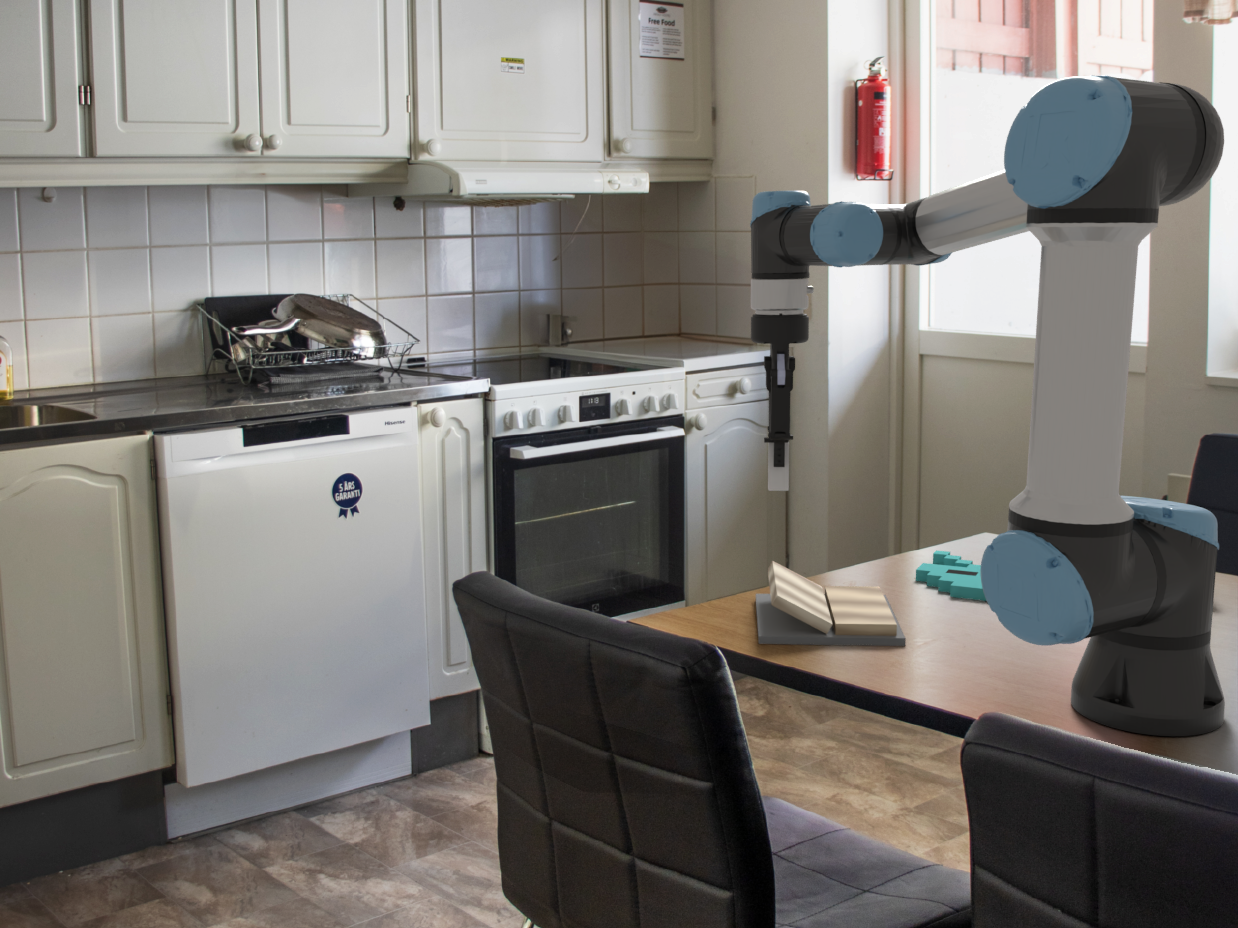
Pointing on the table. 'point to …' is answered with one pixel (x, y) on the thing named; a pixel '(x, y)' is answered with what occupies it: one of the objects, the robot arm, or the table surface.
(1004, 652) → the table surface
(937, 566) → the alien figure
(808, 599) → the birch plank
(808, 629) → the underlay mat
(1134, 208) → the robot arm
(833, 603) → the floor strip
